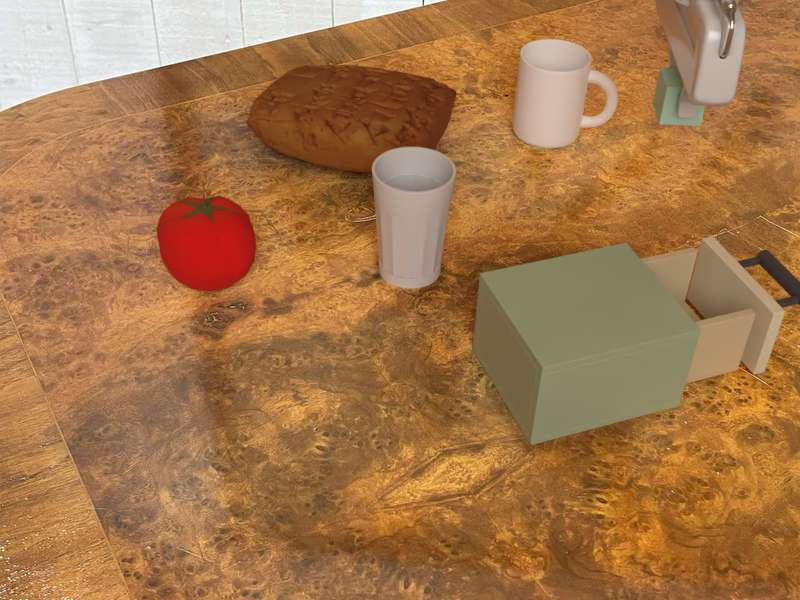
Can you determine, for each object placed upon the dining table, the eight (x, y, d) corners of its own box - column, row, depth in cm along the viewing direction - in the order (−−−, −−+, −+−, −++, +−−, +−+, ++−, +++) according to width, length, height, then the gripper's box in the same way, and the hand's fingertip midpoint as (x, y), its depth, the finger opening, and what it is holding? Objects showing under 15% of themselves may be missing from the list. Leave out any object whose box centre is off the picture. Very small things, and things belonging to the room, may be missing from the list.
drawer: (742, 285, 106) (760, 225, 102) (812, 359, 98) (836, 298, 93) (574, 323, 101) (584, 263, 96) (634, 406, 93) (649, 344, 88)
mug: (613, 125, 131) (628, 48, 124) (606, 160, 125) (621, 81, 118) (517, 110, 133) (526, 34, 126) (505, 144, 127) (514, 66, 120)
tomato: (227, 317, 102) (220, 247, 96) (138, 285, 105) (127, 215, 99) (277, 263, 108) (273, 195, 103) (192, 235, 111) (184, 167, 106)
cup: (354, 264, 108) (354, 164, 101) (413, 235, 112) (418, 137, 105) (405, 304, 104) (409, 203, 96) (465, 273, 108) (473, 173, 100)
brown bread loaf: (465, 137, 128) (470, 77, 123) (410, 212, 116) (413, 149, 111) (301, 96, 134) (299, 37, 129) (232, 163, 122) (227, 101, 117)
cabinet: (610, 317, 103) (626, 242, 97) (679, 406, 94) (701, 329, 88) (472, 349, 99) (479, 273, 93) (530, 445, 90) (542, 367, 84)
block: (693, 105, 104) (701, 68, 102) (701, 126, 101) (710, 88, 99) (652, 103, 104) (660, 66, 102) (658, 124, 101) (666, 87, 99)
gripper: (776, 12, 85) (736, 160, 94) (723, -82, 101) (693, 52, 110) (697, 10, 85) (664, 157, 94) (656, -85, 101) (632, 49, 110)
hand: (680, 99), depth 102 cm, fingers closed on block, 4 cm apart
